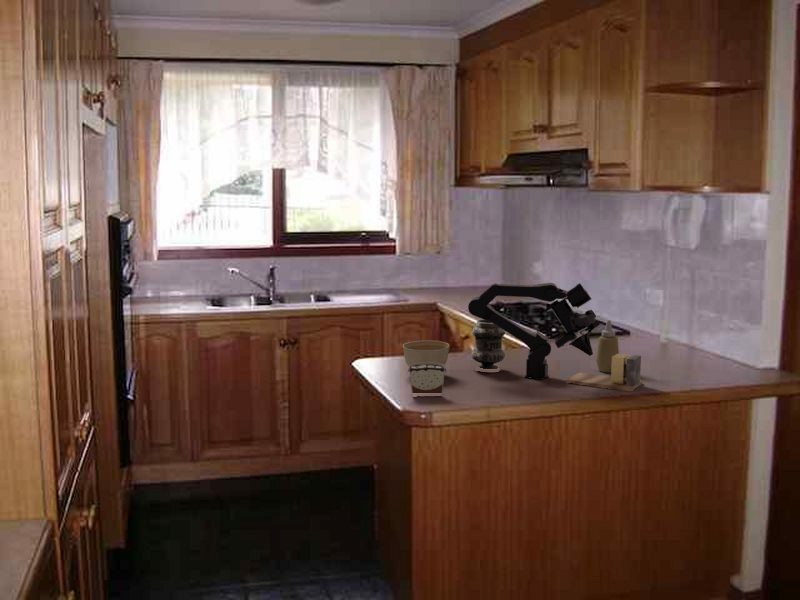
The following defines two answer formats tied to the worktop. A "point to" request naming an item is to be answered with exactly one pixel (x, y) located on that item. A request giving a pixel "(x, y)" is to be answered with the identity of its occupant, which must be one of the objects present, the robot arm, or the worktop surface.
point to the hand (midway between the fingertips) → (591, 355)
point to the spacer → (618, 368)
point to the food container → (427, 377)
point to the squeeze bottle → (606, 348)
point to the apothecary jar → (487, 344)
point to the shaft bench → (602, 381)
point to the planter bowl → (426, 352)
